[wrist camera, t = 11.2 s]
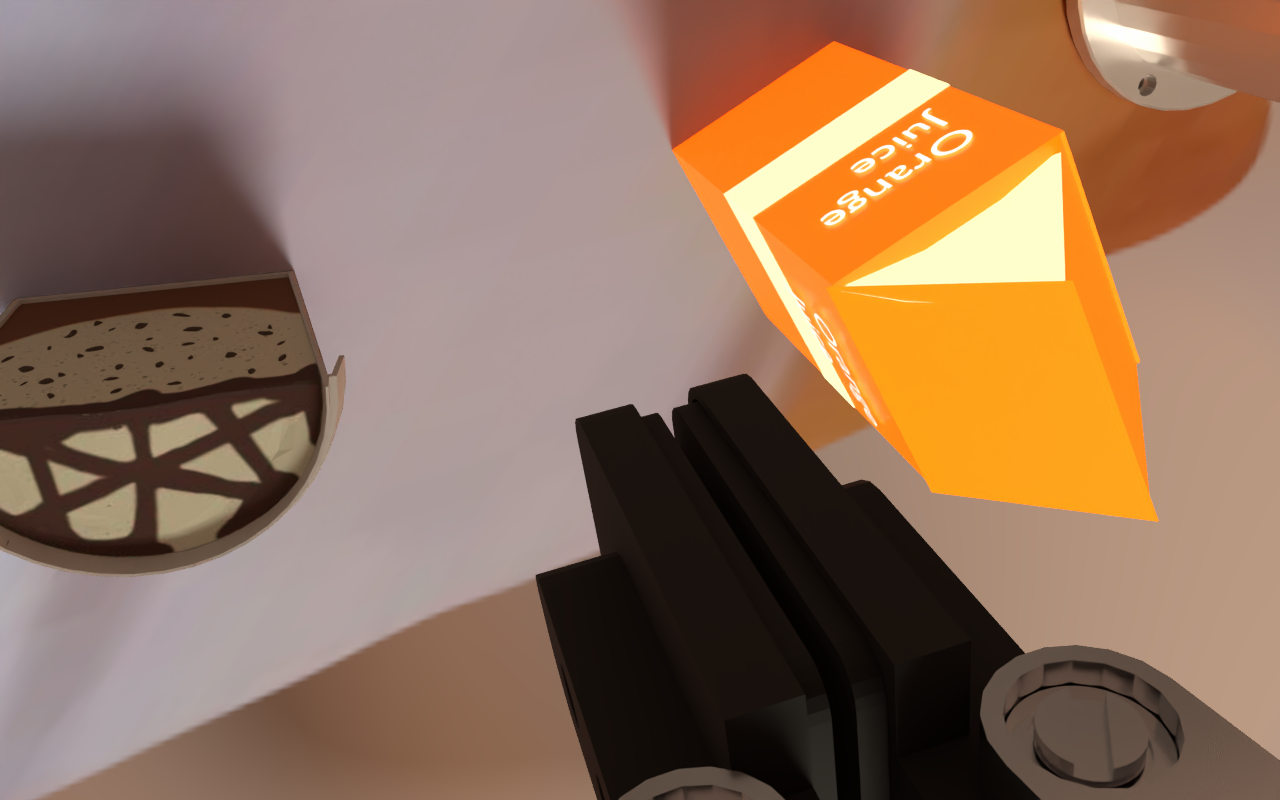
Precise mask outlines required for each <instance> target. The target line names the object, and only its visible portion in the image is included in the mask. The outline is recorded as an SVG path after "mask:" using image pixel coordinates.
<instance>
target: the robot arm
mask: <svg viewBox="0 0 1280 800" xmlns="http://www.w3.org/2000/svg"><path fill="white" fill-rule="evenodd" d="M1066 8H1067V18H1068V22H1069V26H1070V30H1071V34H1072V38H1073V42H1074V44H1075V46H1076V49H1077V51H1078V53H1079V55H1080V57H1081V59H1082V61H1083V63H1084V65H1085V66H1086V68H1087V69H1088V70H1089V71H1090V72H1091V74H1092V75H1093V76H1094V77H1095V78H1096V80H1097V81H1098V82H1099V83H1100V84H1101V85H1102V86H1104V87H1105V88H1106V89H1108V90H1109V91H1111V92H1112V93H1113V94H1115V95H1116V96H1118V97H1120V98H1122V99H1125V100H1128V101H1130V102H1133V103H1136V104H1138V105H1141V106H1145V107H1149V108H1154V109H1158V110H1163V111H1165V110H1189V109H1193V108H1197V107H1201V106H1205V105H1209V104H1212V103H1214V102H1216V101H1219V100H1221V99H1223V98H1225V97H1228V96H1230V95H1232V94H1234V93H1236V92H1237V91H1239V92H1243V93H1247V94H1250V95H1254V96H1257V97H1261V98H1265V99H1268V100H1272V101H1275V102H1280V0H1066ZM672 421H673V429H674V436H675V438H674V437H673V435H672V433H671V432H670V430H669V429H668V427H667V425H666V424H665V422H664V421H663V419H662V417H661V416H660V415H659V414H658V413H654V414H650V415H647V416H643V417H641V416H640V414H639V413H638V411H637V409H636V408H635V407H634V405H633V404H629V405H626V406H622V407H618V408H614V409H611V410H607V411H603V412H600V413H596V414H592V415H588V416H585V417H581V418H577V419H576V422H575V424H576V433H577V438H578V444H579V449H580V454H581V459H582V464H583V469H584V473H585V478H586V483H587V488H588V493H589V498H590V503H591V508H592V513H593V518H594V523H595V528H596V533H597V538H598V543H599V548H600V553H601V556H599V557H595V558H592V559H589V560H585V561H582V562H578V563H575V564H571V565H568V566H565V567H561V568H558V569H554V570H551V571H548V572H544V573H541V574H537V575H536V582H537V587H538V591H539V595H540V600H541V604H542V608H543V612H544V616H545V620H546V624H547V628H548V633H549V637H550V640H551V645H552V649H553V652H554V656H555V659H556V664H557V668H558V671H559V675H560V679H561V682H562V686H563V689H564V693H565V696H566V700H567V703H568V707H569V710H570V714H571V717H572V720H573V724H574V727H575V730H576V733H577V736H578V739H579V743H580V746H581V749H582V752H583V756H584V759H585V762H586V765H587V768H588V772H589V774H590V777H591V781H592V784H593V788H594V791H595V794H596V797H597V800H1280V760H1278V759H1277V758H1276V757H1274V756H1273V755H1272V754H1270V753H1269V752H1268V751H1266V750H1265V749H1264V748H1262V747H1261V746H1260V745H1259V744H1257V743H1256V742H1255V741H1253V740H1252V739H1251V738H1249V737H1248V736H1247V735H1245V734H1244V733H1243V732H1241V731H1240V730H1239V729H1238V728H1236V727H1235V726H1233V725H1232V724H1231V723H1229V722H1228V721H1227V720H1226V719H1224V718H1223V717H1222V716H1220V715H1219V714H1218V713H1216V712H1215V711H1214V710H1212V709H1211V708H1210V707H1208V706H1207V705H1206V704H1205V703H1203V702H1202V701H1201V700H1199V699H1198V698H1197V697H1195V696H1194V695H1193V694H1191V693H1190V692H1189V691H1187V690H1186V689H1185V688H1183V687H1182V686H1180V684H1178V683H1177V682H1176V681H1174V680H1173V679H1171V678H1170V677H1168V676H1167V675H1165V674H1163V673H1162V672H1160V671H1158V670H1156V669H1155V668H1153V667H1152V666H1150V665H1148V664H1146V663H1145V662H1143V661H1141V660H1138V659H1135V658H1132V657H1129V656H1126V655H1123V654H1120V653H1118V652H1115V651H1111V650H1108V649H1100V648H1093V647H1086V646H1078V645H1073V646H1059V647H1044V648H1041V649H1038V650H1035V651H1032V652H1029V653H1026V654H1025V653H1024V652H1023V651H1022V649H1021V648H1020V647H1019V646H1018V645H1017V644H1016V643H1015V642H1014V640H1013V639H1012V638H1011V637H1010V636H1009V635H1008V634H1007V632H1006V631H1005V630H1004V629H1003V628H1002V627H1001V626H1000V625H999V623H998V622H997V621H996V620H995V619H994V618H993V617H992V616H991V614H989V612H988V611H987V610H986V609H985V608H984V607H983V606H982V604H981V603H980V602H979V601H978V600H977V599H976V598H975V596H974V595H973V594H972V593H971V592H970V591H969V590H968V589H967V587H966V586H965V585H964V584H963V583H962V582H961V581H960V580H959V578H958V577H957V576H956V575H955V574H954V573H953V572H952V571H951V569H949V567H948V566H947V565H946V564H945V563H944V562H943V560H942V559H941V558H940V557H939V556H938V555H937V554H936V553H935V552H934V551H933V549H932V548H931V547H930V546H929V545H928V544H927V542H925V540H924V539H923V538H922V537H921V536H920V535H919V534H918V533H917V531H916V530H915V529H914V528H913V527H912V526H911V525H910V524H909V522H908V521H907V520H906V519H905V518H904V517H903V515H902V514H901V513H900V512H899V511H898V510H897V509H896V508H895V507H894V505H893V504H892V503H891V502H890V501H889V500H888V499H887V497H886V496H885V495H884V494H883V493H882V492H881V491H880V490H879V489H878V488H877V487H876V486H875V485H873V484H872V483H871V482H870V481H865V480H859V481H855V482H852V483H848V484H845V485H841V484H840V483H839V482H838V481H837V479H836V478H835V477H834V476H833V475H832V473H831V472H830V471H829V470H828V469H827V467H826V466H825V465H824V464H823V463H822V461H821V460H820V459H819V458H818V457H817V455H816V454H815V453H814V452H813V451H812V450H811V448H810V447H809V446H808V445H807V444H806V442H805V441H804V440H803V439H802V438H801V436H800V435H799V434H798V433H797V432H796V430H795V429H794V428H793V427H792V426H791V424H790V423H789V422H788V421H787V420H786V418H785V417H784V416H783V415H782V414H781V412H780V411H779V410H778V409H777V408H776V406H775V405H774V404H773V403H772V402H771V401H770V399H769V398H768V397H767V396H766V395H765V393H764V392H763V391H762V390H761V389H760V387H759V386H758V385H757V384H756V383H755V381H754V380H753V379H752V378H751V377H750V376H749V375H748V374H741V375H737V376H733V377H730V378H726V379H722V380H719V381H715V382H711V383H707V384H704V385H700V386H696V387H693V388H690V390H689V393H688V404H687V405H684V406H680V407H676V408H673V411H672Z"/></svg>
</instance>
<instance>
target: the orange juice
mask: <svg viewBox="0 0 1280 800" xmlns="http://www.w3.org/2000/svg"><path fill="white" fill-rule="evenodd" d="M672 151H673V152H674V154H675V156H676V158H677V159H678V161H679V163H680V165H681V166H682V168H683V170H684V172H685V174H686V175H687V177H688V179H689V181H690V182H691V184H692V186H693V188H694V189H695V191H696V193H697V195H698V196H699V198H700V200H701V202H702V203H703V205H704V207H705V209H706V211H707V212H708V214H709V216H710V218H711V219H712V221H713V223H714V225H715V226H716V228H717V230H718V232H719V233H720V235H721V237H722V239H723V241H724V242H725V244H726V246H727V248H728V249H729V251H730V253H731V255H732V256H733V258H734V260H735V262H736V263H737V265H738V267H739V269H740V271H741V272H742V274H743V276H744V278H745V279H746V281H747V283H748V285H749V286H750V288H751V290H752V292H753V293H754V295H755V297H756V299H757V301H758V302H759V304H760V306H761V308H762V309H763V311H764V313H765V315H766V316H767V317H768V318H769V319H770V320H771V321H772V322H773V323H774V325H775V326H776V327H777V328H778V329H779V330H780V331H781V332H782V333H783V334H784V335H785V336H786V337H787V338H788V339H789V340H790V341H791V342H792V343H793V344H794V345H795V346H796V347H797V348H798V349H799V350H800V351H801V352H802V353H803V354H804V355H805V356H806V357H807V358H808V359H809V360H810V361H811V363H812V364H813V365H814V366H815V367H816V368H817V369H818V370H819V371H820V372H821V373H822V374H823V376H824V378H825V379H826V380H827V381H828V382H829V383H830V384H831V385H832V386H833V387H834V388H835V389H836V390H837V391H838V392H839V393H840V394H841V395H842V396H843V397H844V398H845V399H846V400H847V401H848V402H849V403H850V404H851V405H852V406H853V407H854V408H856V409H857V410H858V411H859V412H860V413H861V414H862V415H863V416H864V417H865V418H866V419H867V420H868V421H869V422H870V423H871V424H872V425H873V426H874V427H875V428H876V429H877V430H878V431H879V432H880V433H881V434H882V435H883V437H885V439H886V440H888V442H889V443H890V444H891V445H892V446H893V447H894V448H895V449H896V450H897V451H898V452H899V453H900V454H901V455H902V456H903V457H904V458H905V459H906V460H907V461H908V462H909V463H910V464H911V465H912V466H913V467H914V468H915V469H916V470H917V471H918V472H919V473H920V475H922V477H923V478H924V479H925V480H926V482H927V484H928V486H929V488H930V490H931V492H933V493H942V494H949V495H957V496H965V497H973V498H980V499H988V500H995V501H1003V502H1011V503H1019V504H1027V505H1034V506H1042V507H1050V508H1058V509H1065V510H1073V511H1081V512H1088V513H1096V514H1104V515H1112V516H1119V517H1127V518H1135V519H1143V520H1150V521H1158V518H1157V515H1156V513H1155V510H1154V507H1153V504H1152V502H1151V499H1150V496H1149V486H1148V476H1147V467H1146V456H1145V446H1144V437H1143V426H1142V416H1141V407H1140V396H1139V386H1138V376H1137V366H1136V364H1137V363H1139V362H1140V360H1139V357H1138V354H1137V351H1136V348H1135V345H1134V342H1133V339H1132V336H1131V333H1130V330H1129V327H1128V324H1127V321H1126V318H1125V315H1124V312H1123V309H1122V306H1121V303H1120V299H1119V296H1118V293H1117V290H1116V287H1115V285H1114V281H1113V278H1112V275H1111V272H1110V269H1109V266H1108V264H1107V260H1106V257H1105V254H1104V251H1103V248H1102V245H1101V242H1100V239H1099V236H1098V233H1097V230H1096V227H1095V224H1094V221H1093V218H1092V215H1091V212H1090V209H1089V206H1088V203H1087V199H1086V196H1085V193H1084V190H1083V187H1082V184H1081V181H1080V178H1079V175H1078V172H1077V169H1076V166H1075V163H1074V160H1073V157H1072V154H1071V151H1070V148H1069V145H1068V142H1067V139H1066V136H1065V133H1064V131H1063V130H1061V129H1058V128H1055V127H1053V126H1050V125H1048V124H1045V123H1042V122H1040V121H1037V120H1035V119H1032V118H1030V117H1027V116H1025V115H1022V114H1019V113H1017V112H1014V111H1012V110H1009V109H1007V108H1004V107H1001V106H999V105H996V104H994V103H991V102H989V101H986V100H984V99H981V98H978V97H976V96H973V95H971V94H968V93H966V92H963V91H960V90H958V89H955V88H953V87H950V84H948V83H945V82H942V81H940V80H937V79H935V78H932V77H930V76H927V75H924V74H922V73H919V72H917V71H914V70H911V69H909V70H907V69H904V68H902V67H899V66H896V65H894V64H891V63H889V62H886V61H884V60H881V59H878V58H876V57H873V56H871V55H868V54H866V53H863V52H861V51H858V50H855V49H853V48H850V47H848V46H845V45H843V44H840V43H837V42H835V41H833V42H832V43H830V44H829V45H827V46H826V47H824V48H823V49H821V50H820V51H818V52H817V53H815V54H814V55H812V56H811V57H809V58H808V59H807V60H805V61H804V62H802V63H801V64H799V65H798V66H796V67H795V68H793V69H792V70H790V71H789V72H787V73H786V74H784V75H783V76H781V77H780V78H778V79H777V80H775V81H774V82H772V83H771V84H769V85H768V86H766V87H765V88H763V89H762V90H760V91H759V92H757V93H756V94H754V95H753V96H751V97H750V98H748V99H747V100H745V101H744V102H743V103H741V104H740V105H738V106H737V107H735V108H734V109H732V110H731V111H729V112H728V113H726V114H725V115H723V116H722V117H720V118H719V119H717V120H716V121H714V122H713V123H711V124H710V125H708V126H707V127H705V128H704V129H702V130H701V131H699V132H698V133H696V134H695V135H693V136H692V137H690V138H689V139H687V140H686V141H684V142H683V143H681V144H680V145H679V146H677V147H676V148H674V149H673V150H672Z"/></svg>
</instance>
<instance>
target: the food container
mask: <svg viewBox="0 0 1280 800" xmlns="http://www.w3.org/2000/svg"><path fill="white" fill-rule="evenodd" d="M345 384H346V375H345V358H344V355H342V356H339V357H338V360H337V362H336V365H335V367H334V370H333V372H332V374H327V371H326V368H325V365H324V362H323V359H322V356H321V352H320V349H319V346H318V343H317V340H316V337H315V334H314V331H313V328H312V325H311V322H310V318H309V315H308V312H307V309H306V306H305V303H304V300H303V297H302V294H301V291H300V288H299V284H298V281H297V278H296V275H295V272H294V271H287V272H277V273H267V274H257V275H247V276H237V277H227V278H217V279H207V280H197V281H187V282H177V283H167V284H157V285H147V286H137V287H127V288H117V289H107V290H97V291H87V292H77V293H67V294H57V295H47V296H37V297H27V298H17V299H14V301H13V302H12V303H11V304H10V305H9V306H8V307H7V309H6V310H5V311H4V312H3V313H2V314H1V315H0V550H2V551H4V552H7V553H9V554H12V555H14V556H17V557H19V558H22V559H24V560H27V561H29V562H32V563H35V564H38V565H42V566H46V567H50V568H54V569H58V570H62V571H65V572H72V573H79V574H87V575H94V576H116V577H134V576H144V575H154V574H164V573H168V572H173V571H177V570H181V569H186V568H190V567H194V566H197V565H200V564H203V563H205V562H208V561H211V560H214V559H216V558H219V557H222V556H224V555H226V554H228V553H230V552H232V551H234V550H235V549H237V548H239V547H241V546H243V545H245V544H247V543H249V542H250V541H251V540H253V539H254V538H256V537H257V536H259V535H260V534H261V533H263V532H264V531H266V530H267V529H268V528H270V527H271V526H272V525H273V524H274V523H275V522H277V521H278V520H279V519H280V518H281V517H282V516H283V515H284V514H285V513H286V512H287V511H288V510H289V509H290V508H291V507H293V506H294V505H295V504H296V503H297V502H298V500H299V499H300V498H301V496H302V495H303V494H304V493H305V491H306V490H307V489H308V487H309V486H310V485H311V483H312V482H313V481H314V479H315V477H316V475H317V473H318V471H319V470H320V468H321V466H322V464H323V462H324V460H325V458H326V456H327V454H328V451H329V449H330V446H331V443H332V441H333V438H334V435H335V432H336V429H337V426H338V422H339V419H340V416H341V413H342V409H343V401H344V393H345Z"/></svg>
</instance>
